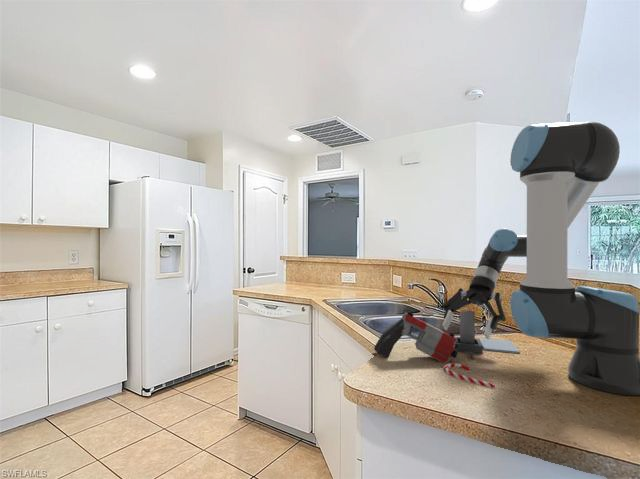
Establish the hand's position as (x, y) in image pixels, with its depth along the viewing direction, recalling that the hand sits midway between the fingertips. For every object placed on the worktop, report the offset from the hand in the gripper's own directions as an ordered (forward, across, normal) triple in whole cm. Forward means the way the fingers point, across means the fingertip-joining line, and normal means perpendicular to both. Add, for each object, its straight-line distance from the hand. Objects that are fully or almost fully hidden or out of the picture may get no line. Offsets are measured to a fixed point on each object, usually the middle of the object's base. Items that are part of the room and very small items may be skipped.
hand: (464, 332), depth 106 cm
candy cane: (+19, -10, +10) cm, 23 cm away
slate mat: (-4, -6, -12) cm, 14 cm away
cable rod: (+3, 0, -5) cm, 6 cm away
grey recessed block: (+5, -2, -3) cm, 6 cm away
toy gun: (+17, +6, +9) cm, 20 cm away
